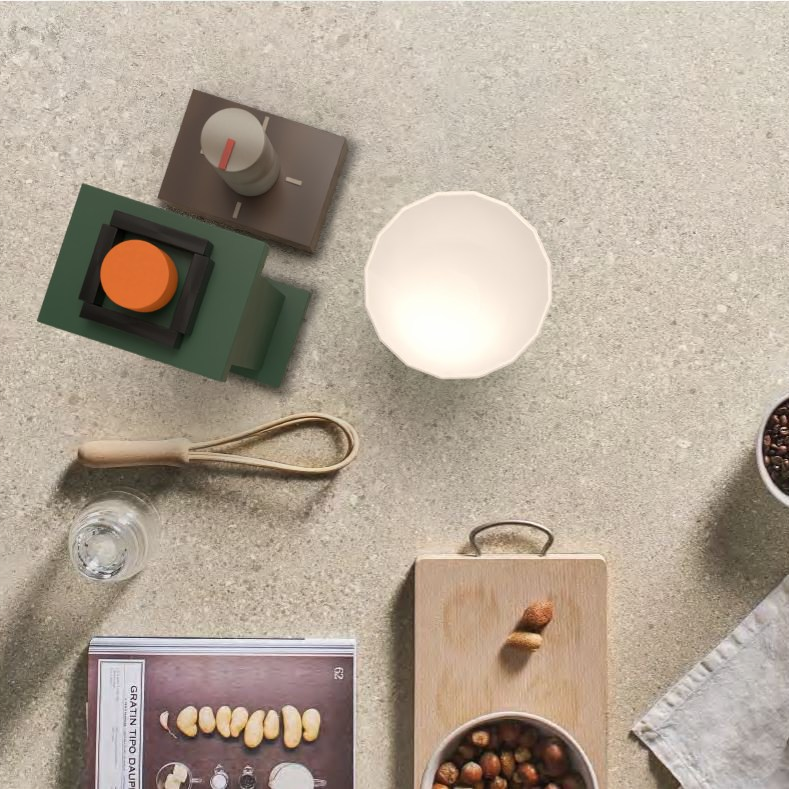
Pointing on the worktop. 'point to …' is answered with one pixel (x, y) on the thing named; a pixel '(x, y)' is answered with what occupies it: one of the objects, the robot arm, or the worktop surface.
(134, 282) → the button
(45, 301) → the control post
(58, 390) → the worktop surface
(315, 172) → the dial panel
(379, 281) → the cup
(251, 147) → the dial
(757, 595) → the worktop surface
